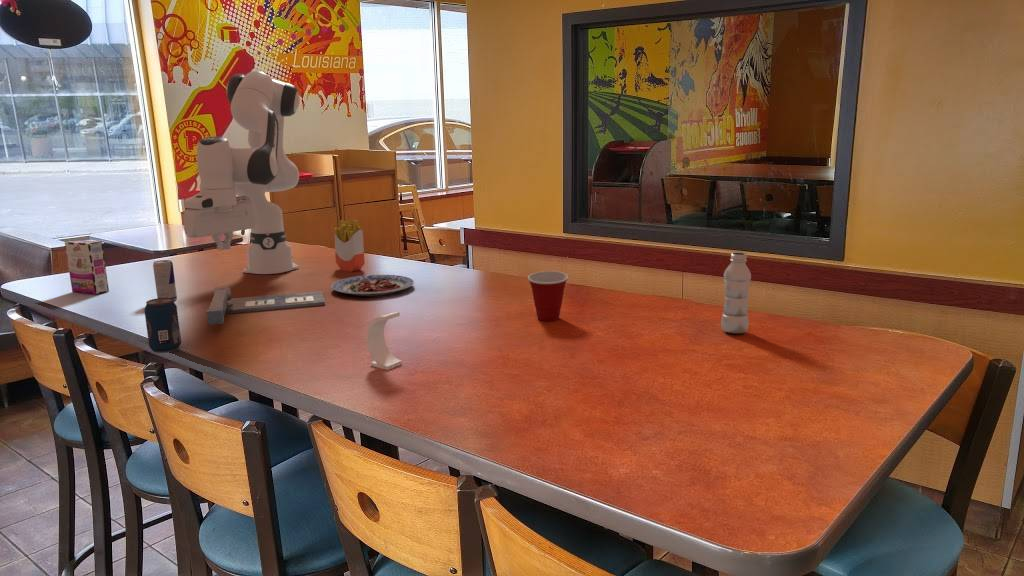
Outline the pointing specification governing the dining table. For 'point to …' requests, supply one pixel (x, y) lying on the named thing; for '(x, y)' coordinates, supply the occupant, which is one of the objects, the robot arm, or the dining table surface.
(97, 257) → the candy bar box
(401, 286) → the ceramic plate
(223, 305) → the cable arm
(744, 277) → the plastic bottle
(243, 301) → the double power outlet
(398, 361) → the headphone stand
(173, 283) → the energy drink
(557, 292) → the plastic cup
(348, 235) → the french fries container
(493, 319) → the dining table surface
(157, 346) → the soda can
